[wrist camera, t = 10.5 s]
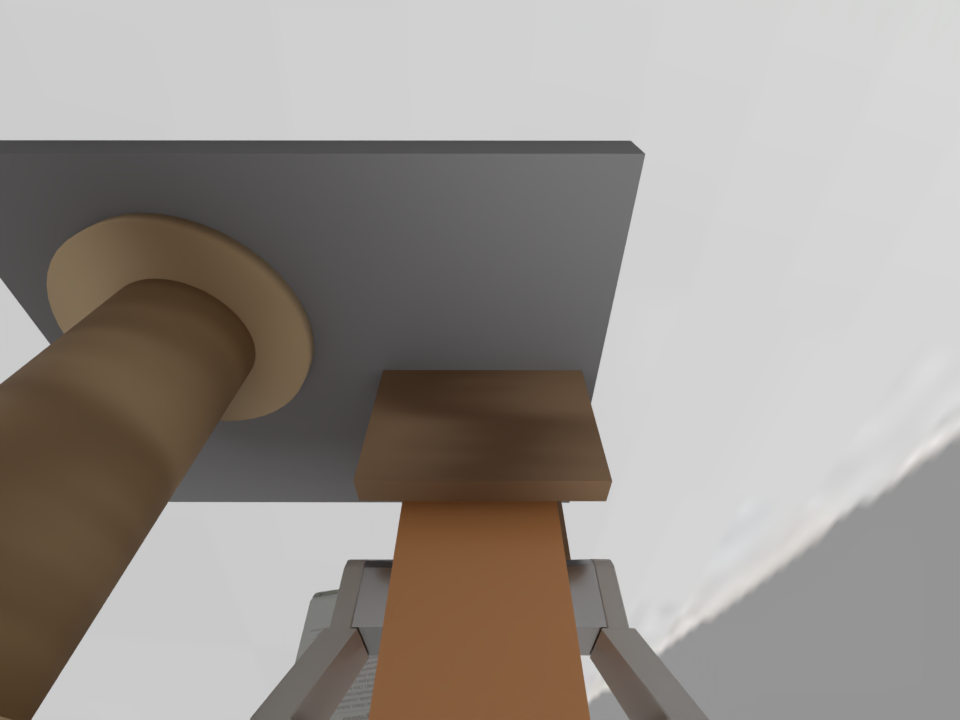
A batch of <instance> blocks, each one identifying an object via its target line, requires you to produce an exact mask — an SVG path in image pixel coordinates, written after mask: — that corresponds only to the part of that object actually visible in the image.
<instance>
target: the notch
mask: <svg viewBox="0 0 960 720" xmlns="http://www.w3.org/2000/svg"><path fill="white" fill-rule="evenodd" d="M353 481H354V485H355V488H356V492H357V495H358V499H359V501H557V506H558V513H559V519H560V526H561V532H562V538H563V545H564V551H565V558H566V560H571V557H570V551H569V545H568V539H567V532H566V526H565V520H564V514H563V508H562V501H606V500H607V497H608V494H609V491H610V487H611V484H612V478H611V475H610V471H609V467H608V464H607V460H606V456H605V453H604V449H603V446H602V442H601V438H600V435H599V431H598V427H597V424H596V420H595V416H594V413H593V409H592V406H591V402H590V398H589V395H588V391H587V387H586V384H585V380H584V376H583V373H582V370H383V372H382V376H381V380H380V383H379V387H378V391H377V395H376V398H375V402H374V406H373V409H372V413H371V417H370V421H369V424H368V428H367V432H366V435H365V439H364V443H363V447H362V450H361V454H360V458H359V462H358V465H357V469H356V473H355V476H354V480H353ZM398 526H399V525H398ZM396 539H397V538H396ZM395 545H396V544H395ZM394 551H395V550H394ZM393 558H394V557H393Z"/></svg>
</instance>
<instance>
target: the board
mask: <svg viewBox="0 0 960 720" xmlns="http://www.w3.org/2000/svg"><path fill="white" fill-rule="evenodd" d="M644 158H645V153H644V152H643V151H642V150H641V149H640V148H638V147H637V146H636V145H635V144H634V143H633V142H632V141H493V140H0V278H1V280H2V281H3V282H4V284H5V285H6V286H7V288H8V289H9V290H10V292H11V293H12V294H13V296H14V297H15V298H16V300H17V301H18V302H19V304H20V305H21V306H22V308H23V309H24V310H25V312H26V313H27V314H28V315H29V317H30V318H31V319H32V321H33V322H34V323H35V325H36V326H37V327H38V329H39V330H40V331H41V333H42V334H43V335H44V337H45V338H46V339H47V341H48V342H49V343H50V344H52V343H53V342H54V341H56V340H57V339H58V338H59V337H61V336H62V335H63V334H64V333H63V331H62V330H61V328H60V327H59V325H58V323H57V321H56V319H55V317H54V314H53V312H52V309H51V306H50V303H49V300H48V293H47V272H48V269H49V266H50V262H51V260H52V258H53V256H54V255H55V253H56V251H57V250H58V249H59V248H60V247H61V246H62V245H63V244H64V243H65V242H66V241H67V240H68V239H70V238H71V237H73V236H74V235H76V234H77V233H79V232H81V231H82V230H84V229H86V228H88V227H89V226H91V225H93V224H95V223H97V222H99V221H102V220H104V219H107V218H109V217H113V216H118V215H123V214H132V213H153V214H163V215H169V216H174V217H180V218H183V219H187V220H190V221H194V222H197V223H200V224H202V225H205V226H207V227H210V228H212V229H215V230H217V231H219V232H221V233H223V234H225V235H227V236H229V237H231V238H233V239H235V240H236V241H238V242H239V243H241V244H242V245H244V246H246V247H247V248H249V249H250V250H252V251H253V252H254V253H256V254H257V255H258V256H259V257H261V258H262V259H263V260H265V261H266V262H267V263H268V264H269V265H270V266H271V267H272V268H273V269H274V270H275V271H276V272H278V273H279V274H280V276H281V277H282V278H283V279H284V280H285V281H286V283H287V284H288V285H289V286H290V287H291V289H292V290H293V292H294V293H295V294H296V296H297V297H298V299H299V300H300V302H301V304H302V306H303V308H304V310H305V312H306V314H307V316H308V319H309V322H310V325H311V328H312V333H313V338H314V353H313V360H312V363H311V366H310V369H309V372H308V374H307V376H306V378H305V380H304V382H303V384H302V386H301V388H300V390H299V391H298V393H297V394H296V395H295V396H294V397H293V399H292V400H291V401H289V402H288V403H287V404H286V405H284V406H283V407H281V408H280V409H278V410H276V411H274V412H272V413H270V414H267V415H265V416H261V417H257V418H253V419H247V420H239V421H219V422H218V424H217V425H216V427H215V429H214V430H213V432H212V433H211V435H210V437H209V438H208V440H207V441H206V443H205V445H204V446H203V448H202V449H201V451H200V453H199V454H198V456H197V457H196V459H195V460H194V462H193V464H192V465H191V467H190V468H189V470H188V472H187V473H186V475H185V476H184V478H183V480H182V481H181V483H180V484H179V486H178V487H177V489H176V491H175V492H174V494H173V495H172V497H171V499H170V500H169V502H402V501H359V499H358V495H357V492H356V488H355V485H354V481H353V480H354V476H355V473H356V469H357V465H358V462H359V458H360V454H361V450H362V447H363V443H364V439H365V435H366V432H367V428H368V424H369V421H370V417H371V413H372V409H373V406H374V402H375V398H376V395H377V391H378V387H379V383H380V380H381V376H382V372H383V370H582V373H583V376H584V380H585V384H586V387H587V391H588V395H589V398H590V402H592V397H593V393H594V388H595V383H596V379H597V374H598V370H599V365H600V360H601V356H602V351H603V347H604V342H605V337H606V333H607V328H608V324H609V319H610V314H611V310H612V305H613V301H614V296H615V291H616V287H617V282H618V278H619V273H620V268H621V264H622V259H623V255H624V250H625V245H626V241H627V236H628V232H629V227H630V222H631V218H632V213H633V209H634V204H635V199H636V195H637V190H638V186H639V181H640V177H641V172H642V167H643V163H644ZM562 503H570V501H562Z"/></svg>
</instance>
